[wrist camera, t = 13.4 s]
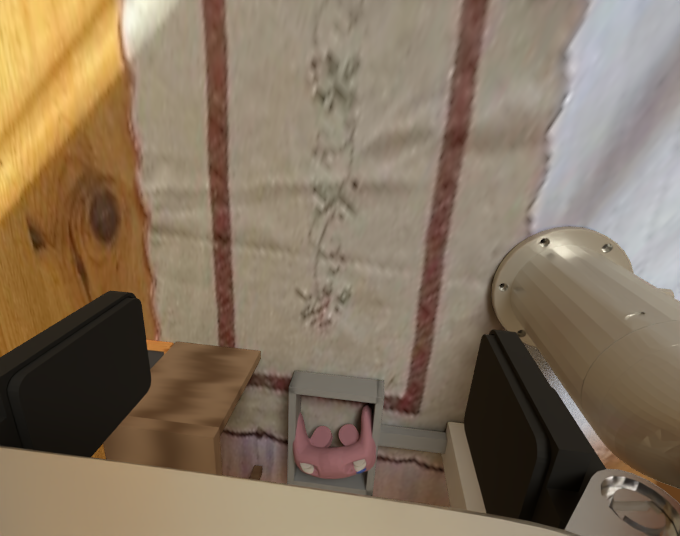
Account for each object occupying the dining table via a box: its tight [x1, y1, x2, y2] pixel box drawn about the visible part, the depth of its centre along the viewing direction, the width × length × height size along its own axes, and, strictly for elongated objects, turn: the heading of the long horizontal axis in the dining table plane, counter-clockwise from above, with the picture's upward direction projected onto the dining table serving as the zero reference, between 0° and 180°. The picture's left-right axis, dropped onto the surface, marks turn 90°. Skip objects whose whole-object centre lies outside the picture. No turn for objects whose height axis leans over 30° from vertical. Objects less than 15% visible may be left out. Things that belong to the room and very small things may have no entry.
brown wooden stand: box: [103, 342, 262, 480], centre depth 42 cm, size 10×18×13 cm, turn 176°
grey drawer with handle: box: [287, 371, 487, 514], centre depth 41 cm, size 20×14×11 cm
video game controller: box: [293, 405, 376, 479], centre depth 44 cm, size 10×5×7 cm, turn 101°
